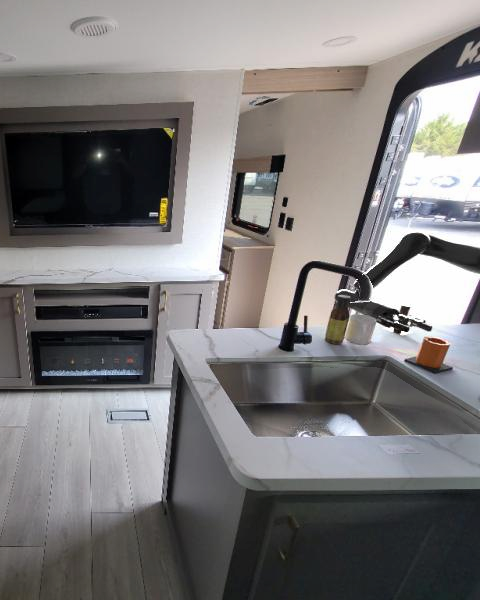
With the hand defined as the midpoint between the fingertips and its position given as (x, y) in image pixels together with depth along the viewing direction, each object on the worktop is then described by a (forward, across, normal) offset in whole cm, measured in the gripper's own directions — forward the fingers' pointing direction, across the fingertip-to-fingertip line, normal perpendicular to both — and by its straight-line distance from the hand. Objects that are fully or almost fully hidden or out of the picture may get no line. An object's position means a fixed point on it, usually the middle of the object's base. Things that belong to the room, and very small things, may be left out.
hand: (419, 329), depth 120 cm
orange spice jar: (+6, 0, +10) cm, 12 cm away
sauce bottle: (-13, -20, +11) cm, 26 cm away
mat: (+7, 0, +11) cm, 13 cm away
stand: (-18, +12, +11) cm, 24 cm away
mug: (-11, -11, +11) cm, 19 cm away
